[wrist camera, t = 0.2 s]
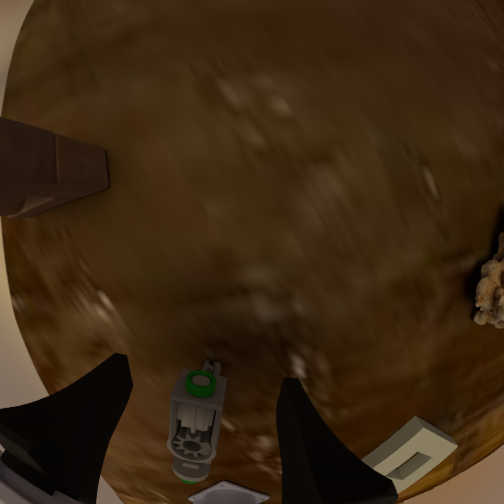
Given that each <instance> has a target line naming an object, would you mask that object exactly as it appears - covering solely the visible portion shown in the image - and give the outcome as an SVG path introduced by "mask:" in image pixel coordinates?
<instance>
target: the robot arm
mask: <svg viewBox="0 0 504 504" xmlns="http://www.w3.org/2000/svg"><path fill="white" fill-rule="evenodd" d="M132 388H133V382H132V377H131V373H130V368H129V363H128V358H127V355H123V354H119V353H115V354H113V355H112V356H110V357H109V358H108V359H106V360H105V361H104V362H102V363H101V364H100V365H98V366H97V367H96V368H94V369H93V370H92V371H90V372H89V373H87V374H86V375H85V376H83V377H82V378H80V379H79V380H77V381H76V382H74V383H72V384H71V385H69V386H68V387H66V388H64V389H62V390H60V391H58V392H56V393H54V394H52V395H50V396H48V397H45V398H42V399H40V400H37V401H34V402H32V403H28V404H24V405H21V406H16V407H10V408H3V409H0V444H1V445H2V446H3V448H4V449H5V451H4V452H3V453H2V451H0V501H1V502H2V503H3V504H96V498H97V490H98V484H99V478H100V474H101V469H102V465H103V461H104V458H105V454H106V451H107V448H108V444H109V442H110V439H111V437H112V434H113V432H114V430H115V428H116V426H117V424H118V422H119V420H120V418H121V416H122V413H123V411H124V409H125V407H126V405H127V403H128V400H129V397H130V394H131V391H132ZM276 425H277V433H278V441H279V448H280V456H281V463H282V504H393V503H395V502H396V501H397V499H398V498H399V497H398V493H397V490H396V487H395V485H394V483H393V481H392V480H391V479H389V478H388V477H386V476H384V475H382V474H381V473H379V472H377V471H375V470H374V469H373V468H371V467H370V466H368V465H367V464H365V463H364V462H363V461H362V460H360V459H359V458H358V457H357V456H356V455H355V454H353V453H352V452H351V451H350V450H349V449H348V448H347V447H346V446H345V445H344V444H343V443H342V442H341V441H340V440H339V439H338V438H337V437H336V436H335V435H334V433H333V432H332V431H331V430H330V429H329V427H328V426H327V425H326V423H325V422H324V421H323V419H322V418H321V416H320V415H319V413H318V412H317V410H316V409H315V407H314V406H313V404H312V403H311V401H310V399H309V397H308V396H307V394H306V392H305V390H304V388H303V387H302V385H301V383H300V380H299V379H298V378H284V380H283V384H282V387H281V391H280V395H279V398H278V402H277V406H276ZM269 498H270V497H269V496H268V495H265V494H261V493H258V492H255V491H252V490H249V489H246V488H243V487H241V486H238V485H235V484H233V483H230V482H227V481H221V482H219V483H217V484H215V485H214V486H212V487H209V488H207V489H205V490H203V491H201V492H199V493H197V494H195V495H192V496H190V497H188V500H190V501H192V502H193V504H259V503H261V502H264V501H266V500H268V499H269Z"/></svg>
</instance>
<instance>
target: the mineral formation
mask: <svg viewBox="0 0 504 504" xmlns="http://www.w3.org/2000/svg"><path fill="white" fill-rule="evenodd" d="M498 242H499V248H498V253H496V254H495V255H494V256H493V260H489V261H488V262H487V263H485V264H484V265H482V268H481V278H482V279H481V280H480V282H479V283H478V285H477V287H476V292H475V293H476V296H475V300H476V301H477V302H476V304H475V305H476V307H479V306H481V308H480V310H478V311H477V312H476V314H475V318H474V320H475V322H476V323H477V324H482V325H483V324H485V323H486V321H487V322H489V323H491V324H494V325H495V327H496V328H504V232H502V233H500V235H499V238H498Z"/></svg>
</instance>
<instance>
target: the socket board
mask: <svg viewBox="0 0 504 504" xmlns="http://www.w3.org/2000/svg"><path fill="white" fill-rule="evenodd" d="M457 447H458V445H457V444H456V443H455V441H454V440H453V439H452V437H450V436H449V435H447V434H445V433H444V432H442V431H440V430H438V429H437V428H435V427H434V426H432V425H430V424H429V423H427V422H425V421H424V420H422V419H420V418H419V417H417V416H416V415H415V416H414V417H413V418H412V419H411V420H410V421H409V422H408V423H406V424H405V425H404V426H403V427H402V428H401V429H400V430H398V431H397V432H396V433H395V434H394V435H393V436H391V437H390V438H389V439H388V440H386V441H385V442H384V443H383V444H381V445H380V446H379V447H378V448H376V449H375V450H374V451H372V452H371V453H370V454H368V455H367V456H365V457H364V458H363V459H361V460H362V461H363V462H364V463H365V464H367V465H368V466H370V467H371V468H373V469H374V470H375V471H377V472H379V473H381V474H382V475H384V476H386V477H388V478H389V479H391V480H392V481H393V483H394V485H395V487H396V490H397V493H400V492H401V491H403V490H404V489H406V488H407V487H409V486H410V485H411V484H413V483H414V482H416V481H417V480H418V479H420V478H421V477H422V476H424V475H425V474H426V473H428V472H429V471H430V470H431V469H433V468H434V467H435V466H436V465H438V464H439V463H440V462H441V461H442V460H444V459H445V458H446V457H447V456H448V455H449V454H450V453H452V452H453V451H454V450H455V449H456V448H457ZM416 452H419V453H418V454H417V455H416V456H414V457H413V458H412V459H411V460H409V461H408V462H407V463H405V464H404V465H403V466H401V467H400V468H399V469H395V468H397V467H398V466H399V465H401V464H402V463H403V462H405V461H406V460H407V459H409V458H410V457H411V456H412V455H414V454H415V453H416Z"/></svg>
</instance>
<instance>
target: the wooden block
mask: <svg viewBox="0 0 504 504" xmlns="http://www.w3.org/2000/svg"><path fill="white" fill-rule="evenodd" d="M108 187H109V180H108V172H107V162H106V152H105V150H104V149H102V148H99V147H96V146H93V145H90V144H87V143H84V142H81V141H78V140H75V139H72V138H69V137H65V136H62V135H59V134H54V133H53V132H51V131H48V130H44V129H41V128H38V127H34V126H31V125H28V124H24V123H21V122H17V121H13V120H10V119H6V118H3V117H0V216H7V215H8V218H9V219H17V218H26V217H32V216H34V215H37V214H39V213H42V212H44V211H46V210H49V209H52V208H54V207H57V206H59V205H62V204H65V203H67V202H70V201H73V200H75V199H76V198H81V197H84V196H87V195H90V194H93V193H96V192H99V191H102V190H105V189H107V188H108Z"/></svg>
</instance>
